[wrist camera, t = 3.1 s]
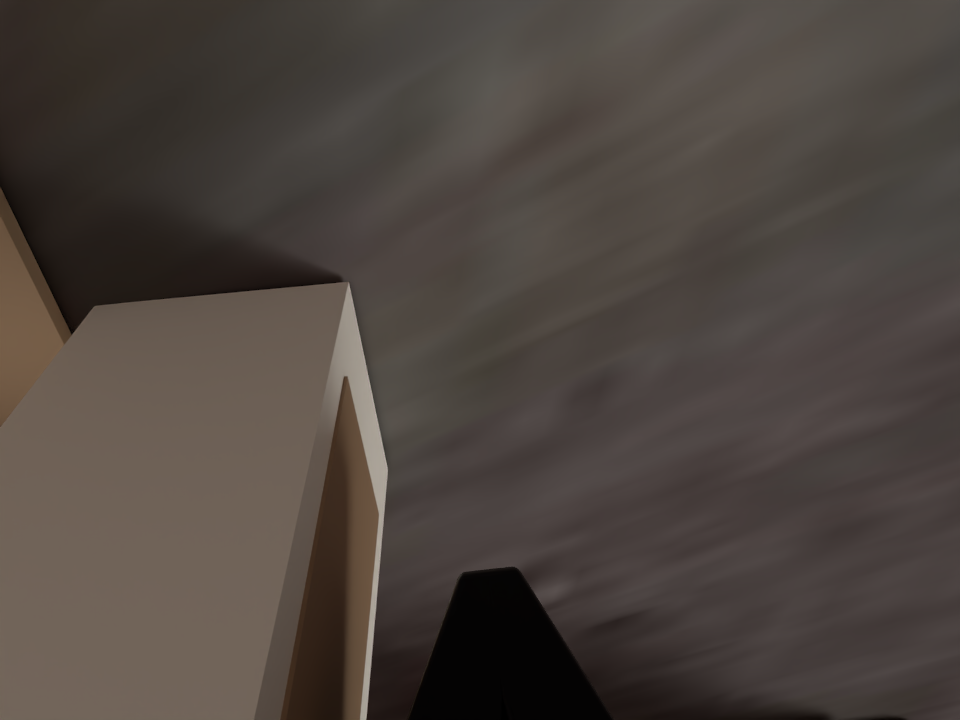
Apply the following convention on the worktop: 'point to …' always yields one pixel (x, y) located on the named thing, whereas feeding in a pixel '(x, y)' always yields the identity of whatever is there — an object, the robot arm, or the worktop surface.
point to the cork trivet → (23, 316)
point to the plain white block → (194, 515)
